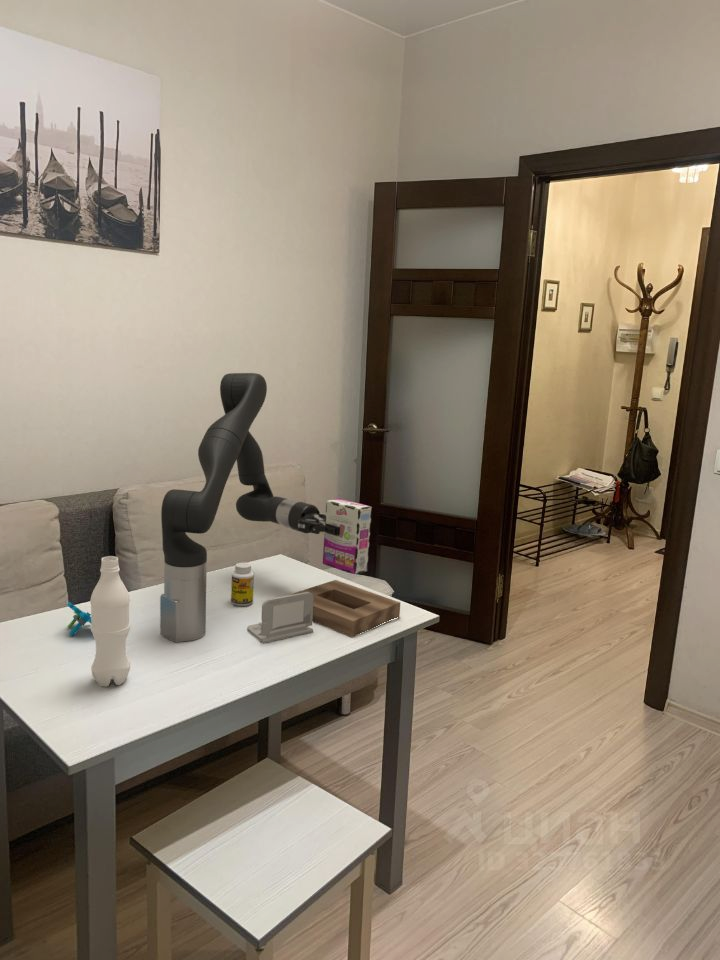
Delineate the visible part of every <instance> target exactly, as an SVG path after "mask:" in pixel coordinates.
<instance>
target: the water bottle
mask: <svg viewBox="0 0 720 960" xmlns="http://www.w3.org/2000/svg"><path fill="white" fill-rule="evenodd" d="M99 571H100V577H99V580H98V581H97V584H96V585H95V587H94V588H93V591H92V593H91V597H90V601H89V604H90V612H91V613H90V614H91V615H90V617H91V623H90V631H91V634H92V636H93V638H94V642H95V654H94V660H93V662H92V665H91V670H90V671H91V675H92V677H93V680H94V681H95V682H96V683H97V684H98V685H99V686H101V687H103V688H104V687H105V688H106V687H109V685H110V684H111V681H113V682H114V684H115V685H116V686H120V685H123V683H124V682H125V680H127V677H128V675H129V673H130V671H131V670H130V669H131V662H130V661H129V659H128V656H127V652H126V644H127V643H126V642H127V638H128V635H129V633H130V631H131V630H130V629H131V623H130V602H131V599H130V594H129V591H128V589H127V588H126V586H125V584H124V582H123V580H122V579H121V577H120V566H119V558H118V556H116V555H115V556H114V555H108V556H103V557H101V565H100V569H99Z"/></svg>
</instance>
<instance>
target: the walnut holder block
mask: <svg viewBox="0 0 720 960" xmlns="http://www.w3.org/2000/svg"><path fill="white" fill-rule="evenodd" d="M304 592H309V593H311V594H312V595H313V620H312V623H316V624H318V625H320V626H323V627H326V628H329V629H331V630H333V631H336V632H338V633H340V634H342V633H343V635H345V634H346V635H345V636H347V635H348V637H350V638H355V637H356V635H357V636H359V635H361V634H363V633H362V632H364V633H366V632H368V631H367V630H369V631H371V630H373V629H375V628H374V627H376V626H378V625H380V624H382V623H384V622H387V621H389V620H391V619H394V618H397V617H399V618H400V614H401V602H400V601H398V600H395V599H392V598H388V597H386V596H383V595H380V594H377V593H375V592H372V591H369V590H366V589H363V588H360V587H357V586H355V585H351V584H349V583H346V582H343V581H340V580H338V579H333V580H331V581H327V582H324V583H321V584H318V585H314V586H312V587H309V588H305V589H302V590H300V591H299V590H298V591H295V592H293V593H290V594H287V595H286V596H288V595H293V594H299V593H304ZM397 619H398V618H397ZM378 627H379V626H378ZM372 628H373V629H372ZM376 628H377V627H376ZM370 629H371V630H370ZM365 631H366V632H365ZM360 633H361V634H360ZM358 634H359V635H358Z"/></svg>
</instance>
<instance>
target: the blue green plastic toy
mask: <svg viewBox="0 0 720 960" xmlns="http://www.w3.org/2000/svg"><path fill="white" fill-rule="evenodd" d="M66 606H67V607H68V608H69V609H71V610H72V611H73V614H74V615H73V616H72V618H73V619H72V620H71V621H70V622H69V623H68V625H67V626H66V628H68V629H69V628H70V629H71V628H72V627H73V626H74V625H75V624H76V625H75V626H74V627H73V628H72V629H71V631H69V633H68V634H69V635H70V636H71V637H74V635H75V634H76V633H77V632H78V630H80V629H81V627H82V626H83V627H84V626H85V625H86V623H89V624H91V613H90V612H88V611H87V612H85V611H83V610H81V609H80V608H79V607H77V606H76V605H74V604H73V603H71V602H70V601H69V602H68V603H67V604H66ZM76 622H77V623H76Z"/></svg>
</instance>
